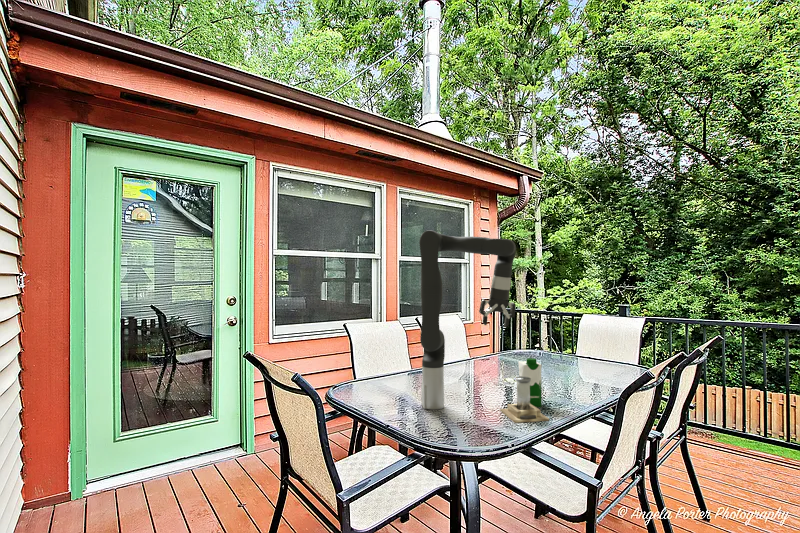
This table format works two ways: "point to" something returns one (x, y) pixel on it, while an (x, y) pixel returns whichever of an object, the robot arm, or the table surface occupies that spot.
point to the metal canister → (523, 393)
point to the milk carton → (532, 379)
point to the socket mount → (524, 414)
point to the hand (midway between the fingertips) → (495, 325)
